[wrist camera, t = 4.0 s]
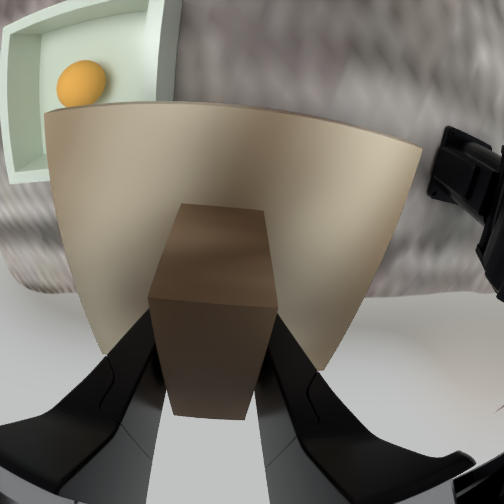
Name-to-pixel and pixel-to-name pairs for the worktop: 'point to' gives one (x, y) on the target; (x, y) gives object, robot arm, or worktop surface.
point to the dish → (76, 49)
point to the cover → (222, 232)
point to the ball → (81, 84)
